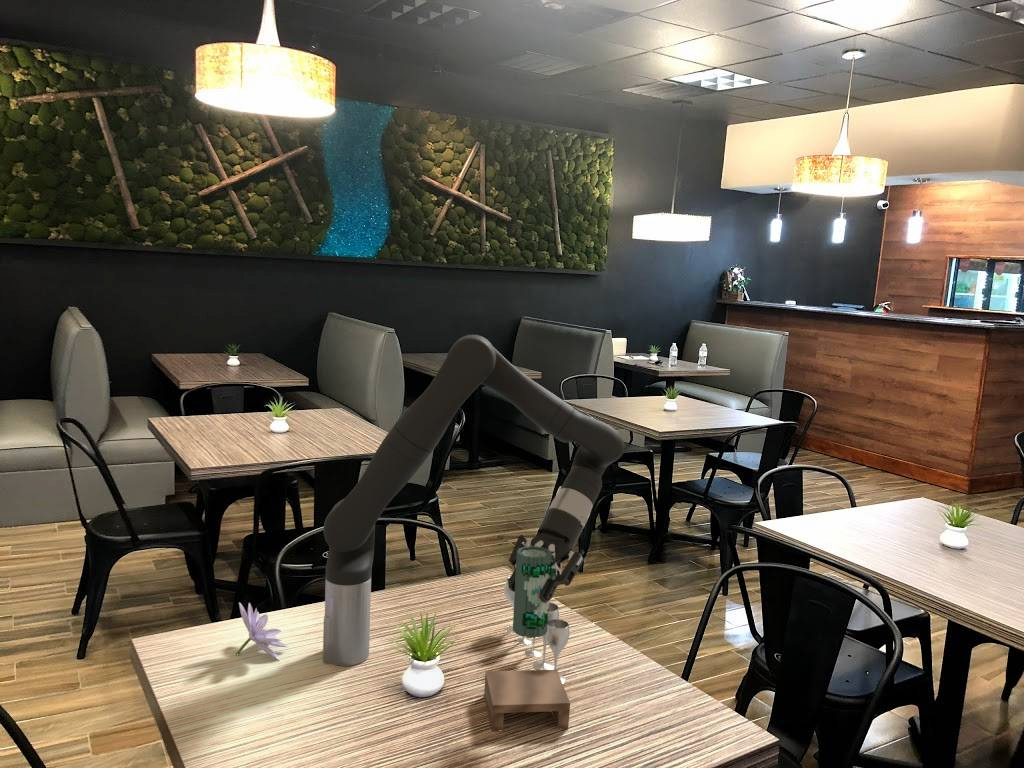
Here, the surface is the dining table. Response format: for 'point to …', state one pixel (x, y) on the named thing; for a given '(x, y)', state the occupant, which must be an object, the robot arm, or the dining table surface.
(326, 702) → the dining table surface
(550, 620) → the goblet set
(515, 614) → the can
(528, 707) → the walnut shelf
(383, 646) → the dining table surface
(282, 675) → the dining table surface
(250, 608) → the water lily
